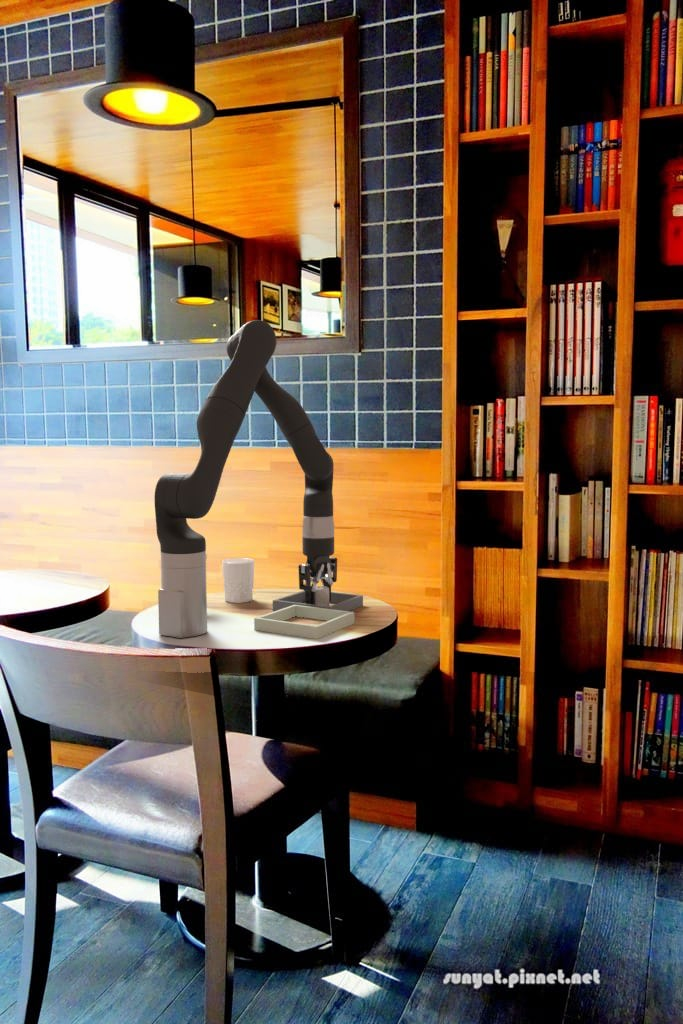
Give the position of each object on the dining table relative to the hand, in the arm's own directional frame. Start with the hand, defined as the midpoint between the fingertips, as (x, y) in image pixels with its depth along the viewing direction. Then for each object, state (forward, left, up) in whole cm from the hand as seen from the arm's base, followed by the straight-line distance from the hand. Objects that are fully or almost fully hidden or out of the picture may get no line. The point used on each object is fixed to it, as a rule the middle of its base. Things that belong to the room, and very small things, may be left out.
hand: (318, 603), depth 195 cm
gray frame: (0, 0, -1) cm, 1 cm away
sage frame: (-17, -7, -1) cm, 18 cm away
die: (0, 0, -1) cm, 1 cm away
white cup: (-2, +22, -1) cm, 22 cm away
